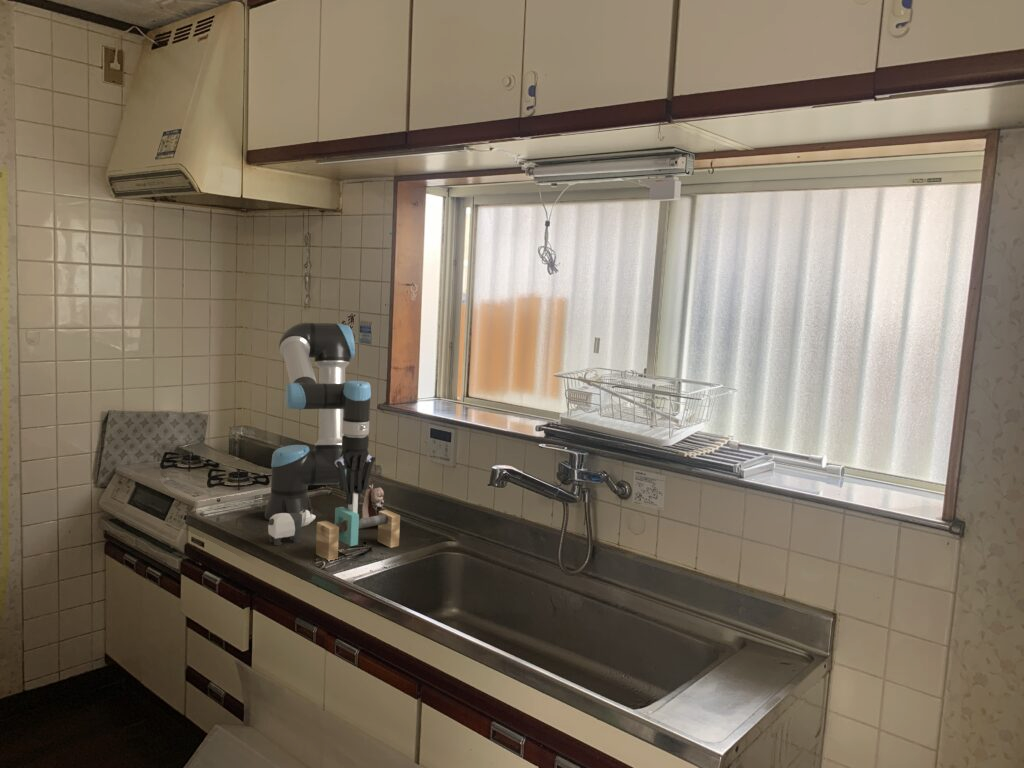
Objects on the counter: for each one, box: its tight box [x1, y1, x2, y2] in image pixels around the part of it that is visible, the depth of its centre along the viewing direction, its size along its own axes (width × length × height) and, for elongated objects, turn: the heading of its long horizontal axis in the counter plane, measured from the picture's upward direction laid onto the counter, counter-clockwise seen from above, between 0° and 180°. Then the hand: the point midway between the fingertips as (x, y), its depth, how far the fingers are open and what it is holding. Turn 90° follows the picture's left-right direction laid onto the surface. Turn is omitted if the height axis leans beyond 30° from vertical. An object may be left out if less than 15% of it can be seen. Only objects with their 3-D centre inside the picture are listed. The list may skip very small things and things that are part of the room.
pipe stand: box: [315, 509, 401, 562], centre depth 228 cm, size 24×7×10 cm, turn 133°
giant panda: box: [267, 508, 317, 546], centre depth 233 cm, size 15×6×10 cm, turn 130°
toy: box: [361, 483, 388, 529], centre depth 251 cm, size 9×8×15 cm
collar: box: [334, 506, 360, 547], centre depth 225 cm, size 2×9×9 cm, turn 44°
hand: (352, 514), depth 226 cm, fingers closed
